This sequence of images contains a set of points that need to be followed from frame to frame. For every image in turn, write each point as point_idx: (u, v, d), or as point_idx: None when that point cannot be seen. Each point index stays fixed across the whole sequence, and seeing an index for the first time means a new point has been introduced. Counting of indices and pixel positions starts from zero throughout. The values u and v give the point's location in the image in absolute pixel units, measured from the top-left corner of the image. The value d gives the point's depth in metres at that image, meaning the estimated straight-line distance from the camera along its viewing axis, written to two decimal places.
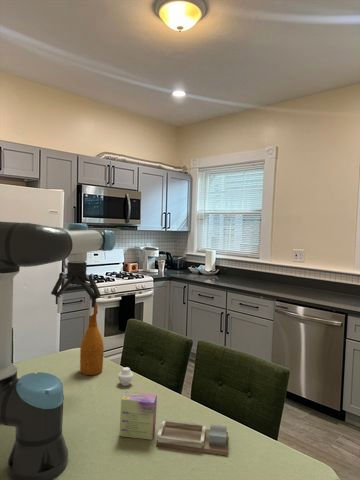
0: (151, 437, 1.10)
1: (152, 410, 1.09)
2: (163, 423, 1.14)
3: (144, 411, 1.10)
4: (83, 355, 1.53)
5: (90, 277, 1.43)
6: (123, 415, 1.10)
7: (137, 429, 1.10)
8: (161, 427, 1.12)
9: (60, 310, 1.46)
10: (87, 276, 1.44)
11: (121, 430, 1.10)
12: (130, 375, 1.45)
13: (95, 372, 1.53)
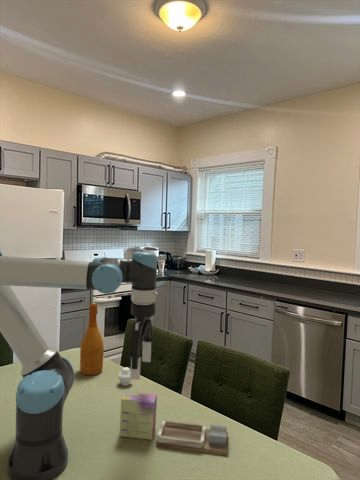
0: (151, 437, 1.10)
1: (152, 410, 1.09)
2: (163, 423, 1.14)
3: (144, 411, 1.10)
4: (83, 355, 1.53)
5: None
6: (123, 415, 1.10)
7: (137, 429, 1.10)
8: (161, 427, 1.12)
9: (145, 359, 1.18)
10: None
11: (121, 430, 1.10)
12: None
13: (95, 372, 1.53)
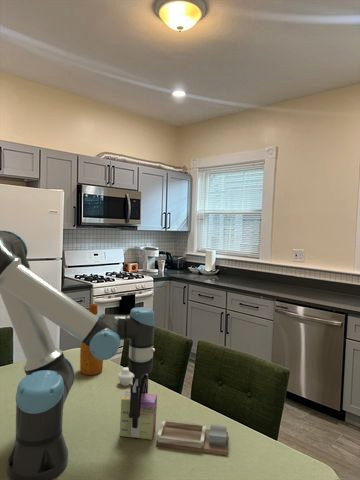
0: (151, 437, 1.10)
1: (152, 410, 1.09)
2: (163, 423, 1.14)
3: (144, 411, 1.10)
4: (83, 355, 1.53)
5: None
6: (123, 414, 1.10)
7: None
8: (161, 427, 1.12)
9: None
10: None
11: (121, 430, 1.10)
12: (130, 375, 1.45)
13: (95, 372, 1.53)
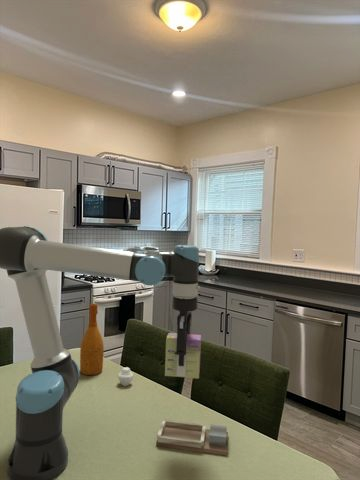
0: (198, 376, 1.07)
1: (198, 348, 1.06)
2: (163, 423, 1.14)
3: (190, 349, 1.07)
4: (83, 355, 1.53)
5: (177, 324, 1.03)
6: (168, 353, 1.07)
7: None
8: (161, 427, 1.12)
9: None
10: (180, 321, 1.05)
11: (166, 369, 1.08)
12: (130, 375, 1.45)
13: (95, 372, 1.53)
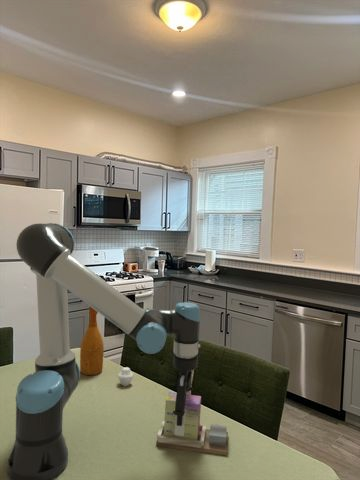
0: (196, 439, 1.07)
1: (197, 412, 1.07)
2: (163, 423, 1.14)
3: (189, 413, 1.07)
4: (83, 355, 1.53)
5: None
6: (167, 416, 1.09)
7: None
8: (161, 427, 1.12)
9: None
10: None
11: (165, 431, 1.09)
12: (130, 375, 1.45)
13: (95, 372, 1.53)
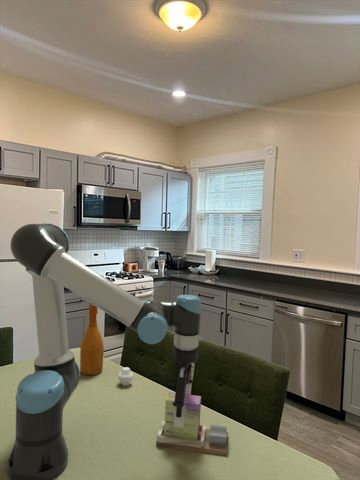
0: (196, 439, 1.07)
1: (197, 412, 1.07)
2: (163, 423, 1.14)
3: (188, 413, 1.07)
4: (83, 355, 1.53)
5: None
6: (167, 416, 1.09)
7: (181, 431, 1.08)
8: (161, 427, 1.12)
9: None
10: None
11: (165, 431, 1.09)
12: (130, 375, 1.45)
13: (95, 372, 1.53)
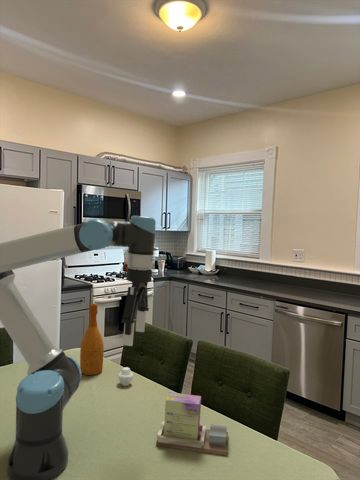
0: (196, 439, 1.07)
1: (197, 412, 1.07)
2: (163, 423, 1.14)
3: (188, 413, 1.07)
4: (83, 355, 1.53)
5: None
6: (167, 416, 1.09)
7: (181, 431, 1.08)
8: (161, 427, 1.12)
9: (139, 329, 1.14)
10: None
11: (165, 431, 1.09)
12: (130, 375, 1.45)
13: (95, 372, 1.53)
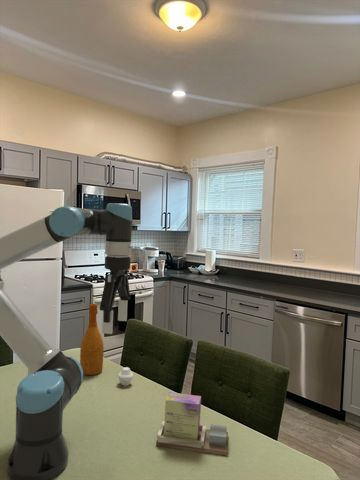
0: (196, 439, 1.07)
1: (197, 412, 1.07)
2: (163, 423, 1.14)
3: (188, 413, 1.07)
4: (83, 355, 1.53)
5: None
6: (167, 416, 1.09)
7: (181, 431, 1.08)
8: (161, 427, 1.12)
9: (121, 318, 1.14)
10: None
11: (165, 431, 1.09)
12: (130, 375, 1.45)
13: (95, 372, 1.53)
